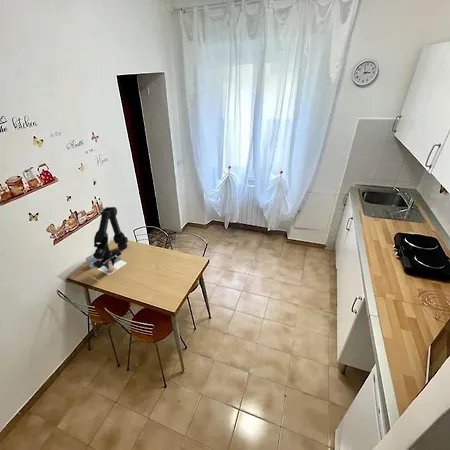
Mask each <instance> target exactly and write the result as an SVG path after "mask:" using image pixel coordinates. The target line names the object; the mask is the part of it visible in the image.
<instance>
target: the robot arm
mask: <svg viewBox="0 0 450 450" xmlns="http://www.w3.org/2000/svg"><path fill="white" fill-rule="evenodd" d="M100 214H101V215H100V216H101V217H100V222H99V227H98V230H97V231H96V232H95V235H94V238H93V247H94V248H95V250H94V253H93V254H94V255H93V254H92V255H93V256H94V257H95V258H96V259H100V260H101V261H99V260H97V261H95V262H94V263H93V265H94V266H95V267H94V268H97V269H99V268H101V267H102V266H105V267H106V268H107V269H108V270H109V267H108V263H106V261H107V260H109V259H110V260H111V262H112V265H113V266H114V263H115V260H116V258H117V257H116V256H118V257H121V255H122V252H121V251H122V250H126V249H127V248H128V242H129V240H128V237H126V236H125V233H123V232H122V230H121V227H120V226H119V222H118V219H117V215H118V209H117V207H114V206H108V207H107V206H106V207H104V208H103V209H102V210H101V213H100ZM109 221H110V222H109ZM109 223H110V225H111V227H112V230H113V233H114V236H113V242H114V244H115V245H117V248H118V249H113V250H112V251H111V249H110V246H109V244H108V243H109V237H108V236H109V234H108V232H107V231H108V225H109ZM115 255H116V256H115Z"/></svg>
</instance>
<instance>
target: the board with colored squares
mask: <svg viewBox="0 0 450 450" xmlns="http://www.w3.org/2000/svg"><path fill="white" fill-rule="evenodd" d="M115 256H116V255H115ZM109 260H110V259H109ZM126 264H127V262H126V261H124V260H122V258H121V256H117V259H116V260H115V263H114V266H113V268H114V270H113V271H111V272H109V271H108V269H107V268H106V267H105V266H102V267H101V268H97V270H98V271H100V272H102V273H104V274H105V275H108V276H110V275H112V274H113V273H114V272H117V271H118V270H119V269H120V268H122V267H123V266H125V265H126Z"/></svg>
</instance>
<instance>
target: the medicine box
mask: <svg viewBox="0 0 450 450" xmlns="http://www.w3.org/2000/svg"><path fill="white" fill-rule="evenodd" d="M93 255H94V253H93V254H91V255H90V256H87V257H85V260H86V263H87V266H88V267H89V268H90V269H92V270H93V269H95V268H96V267H95V266H94V265H93V263H94V262H95V261H97V260H99V261H101V260H102V259H96V258H95V257H94V256H93Z"/></svg>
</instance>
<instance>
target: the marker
mask: <svg viewBox="0 0 450 450" xmlns="http://www.w3.org/2000/svg"><path fill="white" fill-rule="evenodd" d="M106 263H108V267H109V270H108V271H109V272H111V271H113V270H114V268H113V265H112V262H111V260H107V261H106Z"/></svg>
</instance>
